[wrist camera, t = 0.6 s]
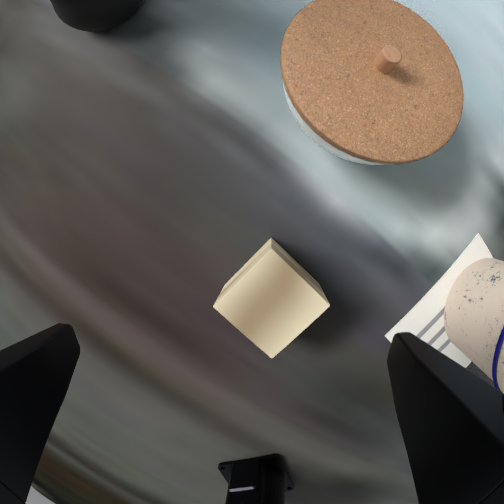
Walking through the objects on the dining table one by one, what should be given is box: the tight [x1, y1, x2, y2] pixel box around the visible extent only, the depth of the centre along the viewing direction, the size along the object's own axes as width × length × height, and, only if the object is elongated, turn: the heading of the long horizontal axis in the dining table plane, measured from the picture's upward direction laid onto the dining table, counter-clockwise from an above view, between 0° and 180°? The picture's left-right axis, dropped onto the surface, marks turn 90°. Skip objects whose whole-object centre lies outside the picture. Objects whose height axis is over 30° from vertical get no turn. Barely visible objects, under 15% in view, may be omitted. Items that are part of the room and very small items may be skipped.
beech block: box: [213, 237, 330, 358], centre depth 21 cm, size 5×5×5 cm
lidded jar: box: [280, 0, 463, 165], centre depth 16 cm, size 11×11×9 cm
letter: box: [385, 233, 493, 368], centre depth 23 cm, size 12×10×1 cm
